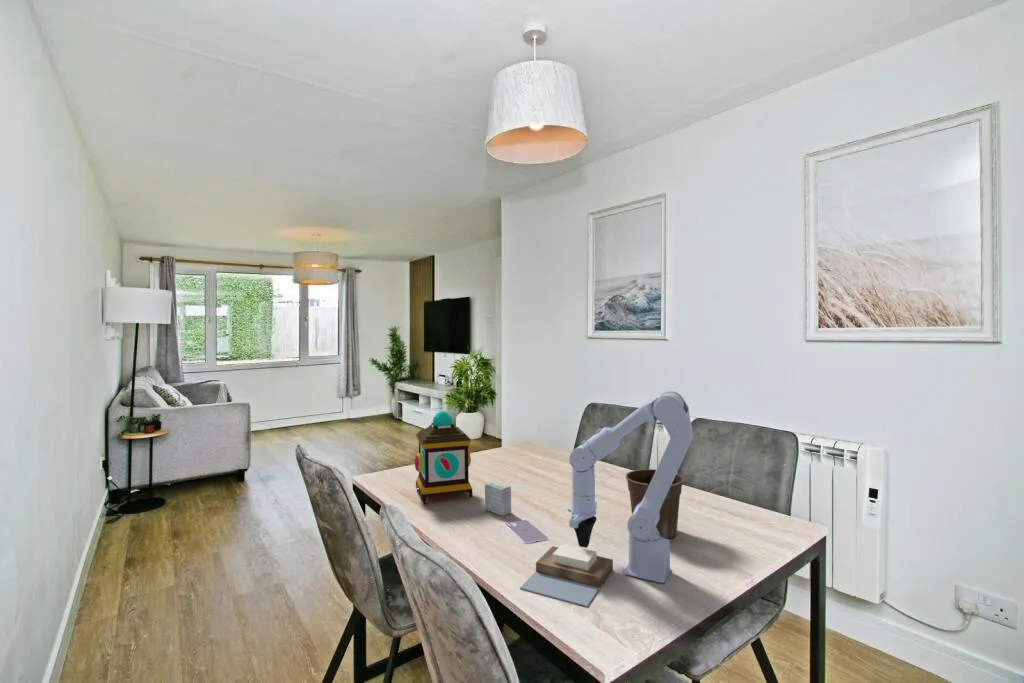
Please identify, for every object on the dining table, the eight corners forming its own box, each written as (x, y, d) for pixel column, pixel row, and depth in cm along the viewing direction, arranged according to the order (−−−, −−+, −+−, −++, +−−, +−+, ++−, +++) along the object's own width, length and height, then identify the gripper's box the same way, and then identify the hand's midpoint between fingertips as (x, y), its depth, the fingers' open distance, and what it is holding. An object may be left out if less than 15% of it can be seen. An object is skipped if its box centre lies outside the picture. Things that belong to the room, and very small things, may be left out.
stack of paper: (511, 512, 159) (511, 486, 159) (502, 516, 156) (501, 489, 156) (494, 507, 164) (494, 481, 164) (484, 510, 161) (484, 484, 161)
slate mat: (599, 589, 112) (599, 587, 112) (587, 607, 105) (587, 605, 105) (535, 573, 120) (535, 571, 120) (520, 588, 113) (520, 587, 113)
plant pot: (614, 526, 148) (614, 472, 148) (657, 517, 154) (657, 466, 154) (649, 548, 133) (649, 488, 133) (696, 537, 139) (696, 480, 139)
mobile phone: (524, 542, 136) (503, 522, 150) (524, 545, 136) (503, 525, 150) (549, 537, 139) (526, 518, 153) (549, 540, 139) (526, 521, 153)
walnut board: (612, 569, 121) (612, 559, 121) (599, 588, 112) (599, 577, 112) (552, 555, 129) (552, 546, 129) (536, 572, 120) (536, 562, 120)
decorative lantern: (464, 483, 190) (463, 405, 189) (477, 499, 171) (476, 413, 171) (411, 488, 184) (410, 408, 183) (419, 506, 165) (418, 417, 164)
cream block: (596, 559, 121) (596, 551, 121) (588, 570, 116) (588, 561, 116) (562, 552, 125) (562, 544, 125) (552, 562, 120) (552, 553, 120)
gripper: (578, 482, 134) (579, 532, 135) (557, 499, 121) (557, 554, 122) (604, 486, 131) (604, 537, 131) (585, 504, 118) (585, 560, 118)
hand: (583, 546), depth 126 cm, fingers closed
